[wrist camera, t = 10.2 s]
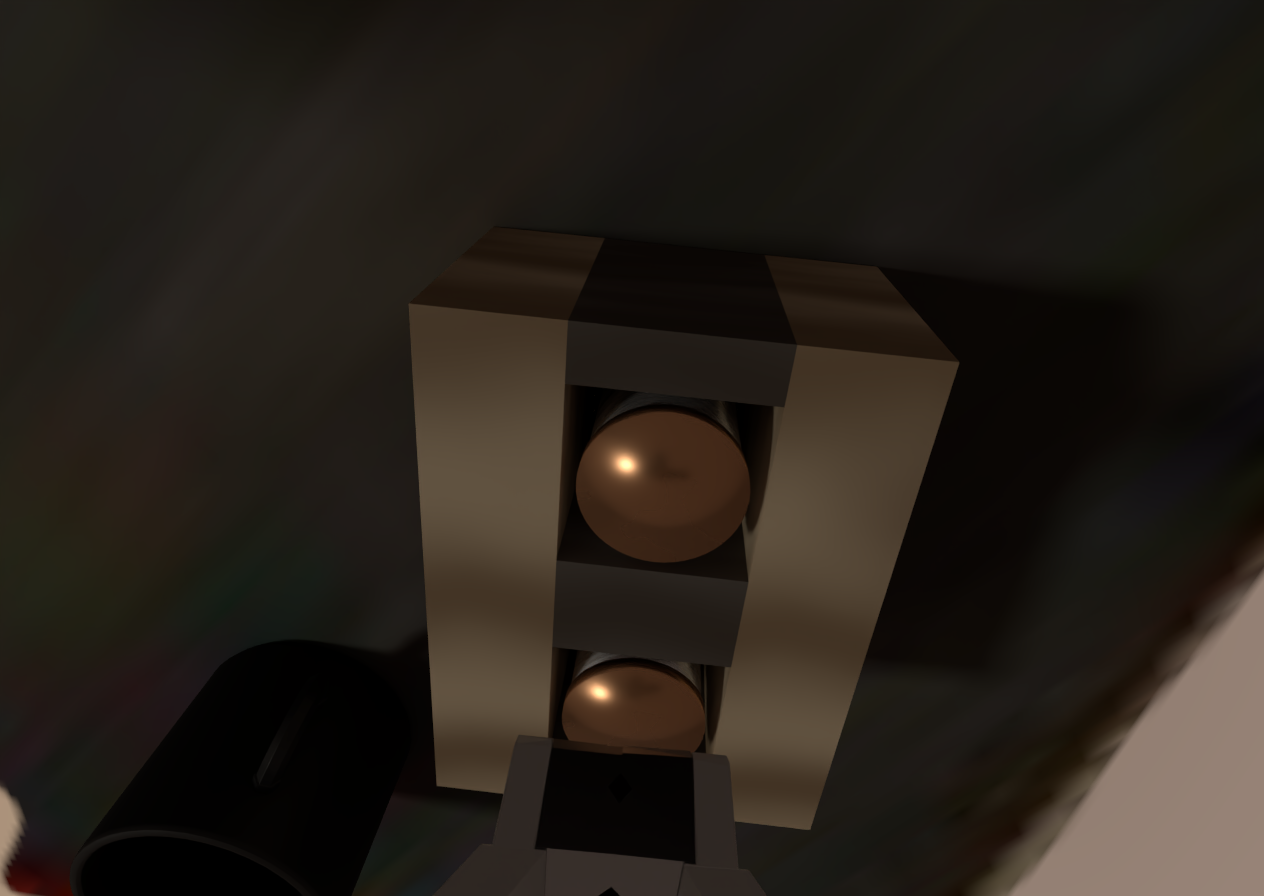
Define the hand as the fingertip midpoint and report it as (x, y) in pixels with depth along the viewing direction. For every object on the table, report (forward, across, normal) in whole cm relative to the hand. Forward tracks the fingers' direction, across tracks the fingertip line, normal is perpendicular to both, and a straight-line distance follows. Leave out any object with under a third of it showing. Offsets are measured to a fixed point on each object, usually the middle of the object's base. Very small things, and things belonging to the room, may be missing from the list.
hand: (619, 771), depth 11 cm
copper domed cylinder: (+16, -1, +1) cm, 16 cm away
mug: (+16, +13, +19) cm, 28 cm away
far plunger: (+15, -1, +9) cm, 18 cm away
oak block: (+16, -1, +5) cm, 17 cm away
